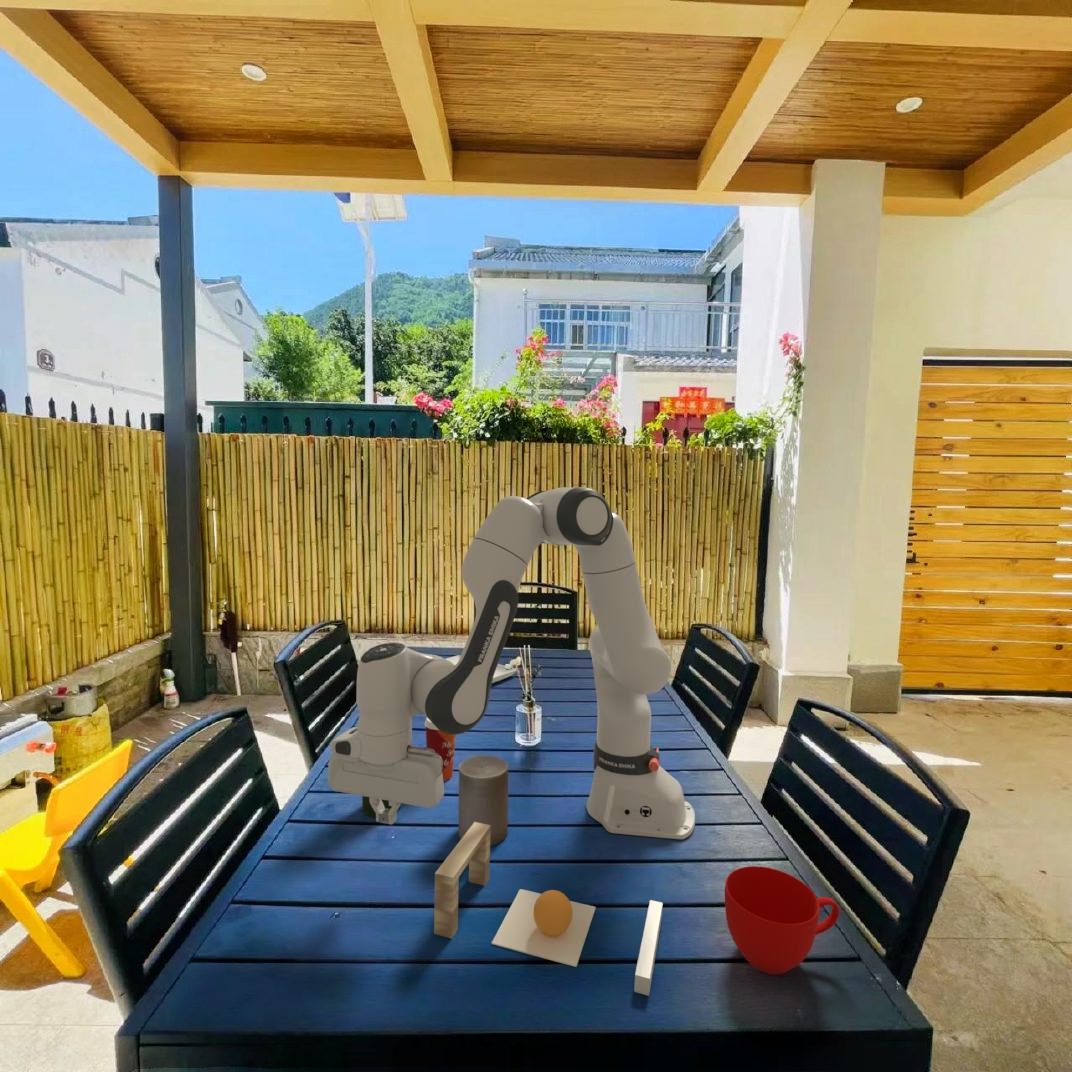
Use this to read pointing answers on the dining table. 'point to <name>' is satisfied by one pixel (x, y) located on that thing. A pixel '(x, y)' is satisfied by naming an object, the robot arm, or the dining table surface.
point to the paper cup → (441, 747)
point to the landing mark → (531, 940)
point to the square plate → (499, 672)
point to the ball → (553, 912)
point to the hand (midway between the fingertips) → (386, 821)
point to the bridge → (447, 876)
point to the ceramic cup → (773, 917)
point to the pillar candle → (484, 795)
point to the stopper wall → (648, 948)
